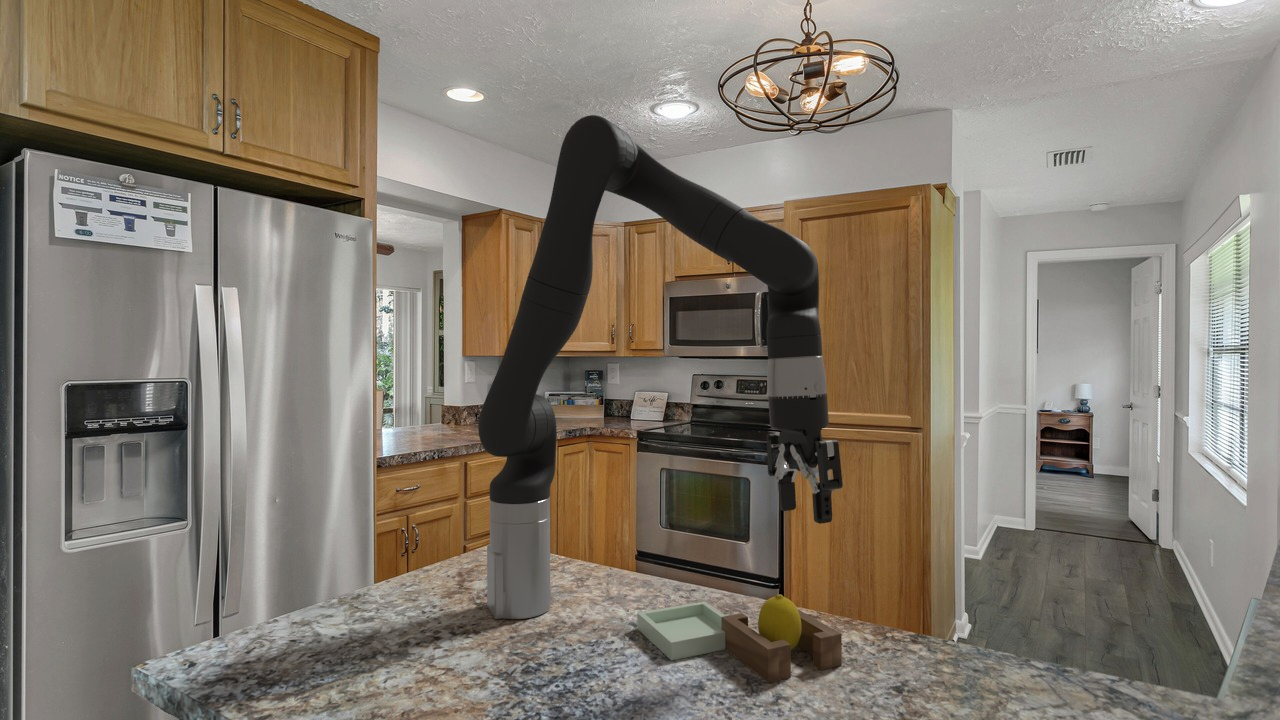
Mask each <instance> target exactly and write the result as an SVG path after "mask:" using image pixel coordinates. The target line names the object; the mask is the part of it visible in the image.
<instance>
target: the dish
mask: <svg viewBox="0 0 1280 720" xmlns="http://www.w3.org/2000/svg"><path fill="white" fill-rule="evenodd" d="M636 614H637V630H638V631H639V632H640V633H641V634H642V635H643V636H644V637H646V638H647V639H648V640H649V641H650V642H651V643H652V644H653V645H654V646H655V647H656V648H658V650H660V651H661V652H662V653H663V654H664V655H665V656H666V657H667V658H668V659H669V660H670V661H676V660H680V659H686V658H690V657H695V656H700V655H704V654H705V655H707V654H709V653H714V652H719V651H723V650H725V632H724V631H723V630H721V617H723V616H727V615H726V614H725V613H723V612H721V611H719V610H718V609H717V608H715V607H714V606H713V605H711V604H709V603H708V602H707V601H698V602H693V603H687V604H682V605H676V606H670V607H665V608H663V607H662V608H657V609H653V610H647V611H641V612H637V613H636ZM725 651H726V650H725Z"/></svg>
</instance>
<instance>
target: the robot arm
mask: <svg viewBox="0 0 1280 720" xmlns="http://www.w3.org/2000/svg"><path fill="white" fill-rule="evenodd" d="M564 136H565V137H564V138H563V141H562V143H561V146H560V147H561V148H560V151H559V157H558V162H557V165H556V170H555V171H556V172H555V176H554V181H553V186H552V190H551V191H552V192H551V195H550V196H551V197H550V202H549V206H548V210H547V213H546V217H545V220H544V223H543V226H542V230H541V233H540V236H539V240H538V243H537V248H536V251H535V254H534V257H533V261H532V264H531V266H530V269H529V271H528V274H527V275H528V276H527V277H526V281H525V285H524V289H523V291H522V294H521V299H520V303H519V307H518V309H517V313H516V317H515V319H514V322H513V326H512V329H511V332H510V335H509V337H508V341H507V344H506V347H505V350H504V352H503V353H504V354H503V356H502V359H501V362H500V365H499V366H498V369H497V372H496V374H495V376H494V378H493V381H492V383H491V386H490V388H489V391H488V393H487V396H486V397H485V400H484V402H483V405H482V407H481V411H480V413H479V419H478V425H477V426H478V427H477V428H478V430H477V431H478V437H479V442H480V443H481V446H482V447H483V449H484V451H486V452H487V453H488V454H490V455H491V456H494V457H498V458H499V457H500V458H506V461H505V464H504V466H503V467H502V469H500V471H499V473H498V474H496V475H495V476H494V477H493V478H492V479H491V481H490V484H489V544H488V545H487V547H486V588H487V589H486V598H487V599H486V601H487V602H486V603H487V604H486V605H487V608H488V609H489V611H490V613H491V615H492V617H493V619H495V620H500V619H507V620H508V619H509V620H521V619H529V618H530V619H531V618H534V617H537V616H540V615H543V614H545V613H547V611H549V610H550V609H551V596H552V592H551V486H552V483H553V481H554V477H555V473H556V458H557V433H558V432H557V420H556V419H557V418H556V414H555V411H554V409H553V407H552V404H551V403H550V402H549V401H548V399H547V398H545V397H544V396H543V395H540V394H538V393H537V392H538V388H539V386H540V384H541V380H542V378H543V377H544V374H545V373H546V371H547V369H548V368H549V367H550V365H551V364H552V362H553V361H554V359H555V358H556V357H557V356H558V354H559V353H560V352H561V350H562V349H563V348H564V347H565V346H566V344H567V342H568V341H569V340H570V339H571V337H572V336H573V334H574V332H576V329H577V327H578V326H579V324H580V321H581V318H582V316H583V312H584V308H585V306H586V302H587V299H588V297H589V294H590V290H591V286H592V281H593V270H594V267H593V266H594V259H593V256H594V255H593V233H594V226H595V220H596V217H597V213H598V211H599V208H600V205H601V202H602V198H603V196H604V194H605V192H609V193H611V194H614V195H616V196H617V195H618V197H619V196H620V197H622V198H626V199H627V200H629V201H632V202H635V203H637V204H639V205H640V206H641V205H642V206H643V207H645V208H646V209H649V210H651V211H652V212H653V213H655V214H657V215H658V216H659V217H661V218H662V219H663V220H665V221H666V222H668V223H669V224H670V225H671V226H672V227H674V228H675V229H676V230H678V231H680V232H681V233H682V234H683V235H685V236H686V237H687V238H688V239H690V240H693V242H695V243H697V244H699V245H700V246H702V247H704V248H705V249H707V250H708V251H710V252H712V253H713V254H715V255H716V256H718V257H720V258H722V259H723V260H726V261H729V262H730V263H733V264H736V265H737V266H739V268H741V269H742V270H745V272H747V273H748V274H750V275H751V276H753V277H755V278H756V279H757V280H759V281H760V282H762V283H763V284H764V285H766V286H767V294H768V309H769V311H768V312H769V317H768V320H767V322H766V329H765V330H766V331H765V332H766V349H767V371H766V374H767V375H766V377H767V378H766V382H767V394H768V395H767V398H768V414H769V427H770V428H771V429H772V430H773V431H774V430H775V431H779V432H774V433H773V432H771V433H766V451H767V452H766V453H767V454H766V456H767V457H766V458H767V461H766V462H767V474H768V476H769V477H774V481H775V483H777V488H778V489H777V490H778V503H779V504H778V505H779V506H778V507H779V509H780V510H781V511H784V512H786V511H794V510H796V508H797V497H796V483H795V481H794V480H795V477H796V475H797V473H798V472H800V473H801V475H802V477H803V478H804V479H806V480H808V481H807V482H808V483H809V485H810V487H811V490H812V492H813V493H811V496H812V510H813V511H812V513H813V521H814V522H815V523H817V524H827V523H831V522H832V520H833V507H832V506H833V503H832V492H834V491H835V490H840V489H842V488H843V485H844V484H843V474H842V465H841V454H840V444H839V441H838V440H837V439H826V440H824V439H823V436H822V429H825V428H827V427H828V426H829V423H830V422H829V421H830V419H829V418H830V417H829V409H828V408H829V406H828V388H827V373H826V367H825V365H824V359H823V358H824V357H823V345H822V344H823V343H822V341H823V340H822V329H821V324H820V319H819V304H820V275H819V273H820V272H819V264H818V260H817V257H816V255H815V254H814V252H813V250H812V249H811V247H810V246H809V245H808V244H807V243H806V242H805V241H803V240H802V239H800V238H798V237H796V236H795V235H793V234H791V233H789V232H787V231H785V230H783V229H782V228H779V227H777V226H775V225H773V224H770V223H768V222H766V221H764V220H761V219H759V218H758V217H756V216H755V215H754V214H752V213H751V212H749V211H748V210H746V209H744V208H743V207H741V206H739V205H738V204H737V203H734V202H732V201H731V200H729V199H727V198H725V197H724V196H722V195H720V194H718V193H717V192H715V191H713V190H711V189H709V188H706V187H704V186H702V185H700V184H698V183H695V182H693V181H691V180H689V179H687V178H685V177H683V176H681V175H679V174H677V173H675V172H674V171H672V170H671V169H669V168H667V167H666V166H664V165H663V164H661V163H660V162H659V161H657V160H656V159H655V158H654V157H653V156H651V154H649V153H648V152H647V151H646V150H644V148H642V147H641V146H640V145H639V144H638V143H636V141H634V139H632V137H631V135H629V133H627V132H626V131H625V130H623V129H622V128H621V127H619V126H618V125H616V124H615V123H614V122H611V121H610V120H609V119H607V118H604V117H602V116H600V115H596V114H595V115H594V114H592V115H586V116H584V117H581V118H579V119H578V120H577V121H575V122H574V123H573V124H572V126H570V127H569V129H568V131H567V132H566V134H565V135H564ZM775 461H776V462H775ZM831 470H832V478H831V476H830V471H831ZM817 478H819V479H817Z"/></svg>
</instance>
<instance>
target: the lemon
mask: <svg viewBox="0 0 1280 720" xmlns="http://www.w3.org/2000/svg"><path fill="white" fill-rule="evenodd" d="M798 610H799V609H798V608H797V606H796V604H795V603H794V602H793V601H791V599H789V598H788V597H785V596H783V595H782V594H776V595H775V596H772V597H770V598H768V599H767V600H765V601H764V603H763V604H762V605H761V608H760V610H759V614H758V619H757V620H758V622H757V628H758V629H757V630H758V634H760V635H761V636H763V637H764V638H766V639H767V640H769V641H770V642H775V641H780V640H784V641H786V642H787V643H789V644H791V651H792V650H794V648H796V647H797V646H798V645H797V644H798V642H799V639H800V636H801V619H800V615H799V612H798Z"/></svg>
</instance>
